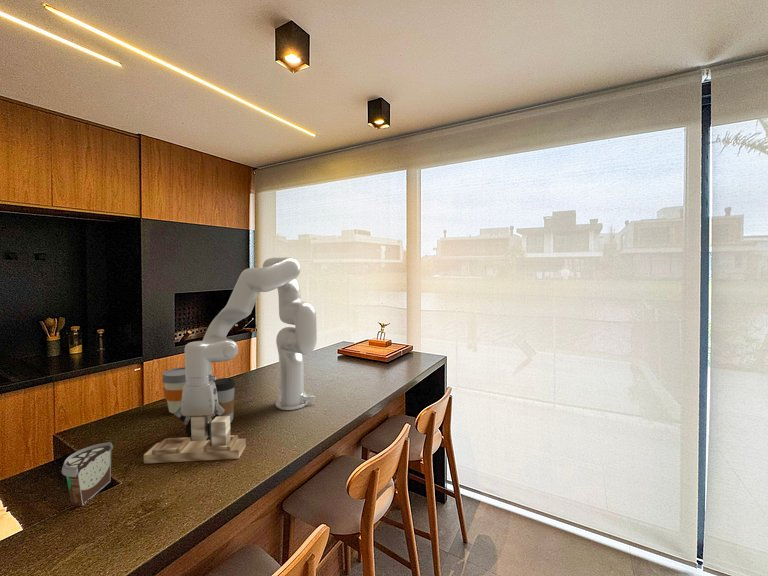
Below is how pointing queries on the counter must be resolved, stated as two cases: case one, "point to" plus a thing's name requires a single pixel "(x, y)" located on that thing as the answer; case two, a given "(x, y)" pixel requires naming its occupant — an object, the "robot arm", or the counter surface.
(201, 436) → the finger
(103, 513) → the counter surface
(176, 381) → the reusable coffee cup
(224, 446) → the rail
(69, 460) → the food container
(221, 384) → the coffee cup
